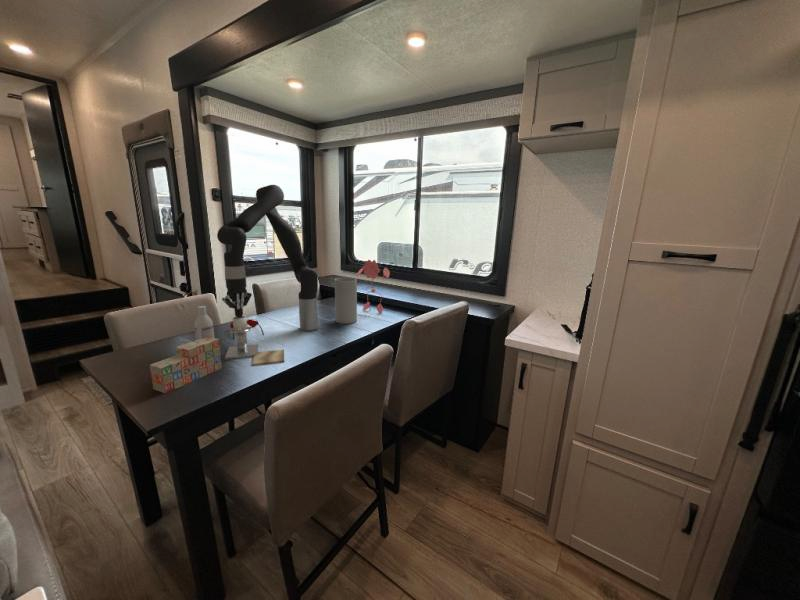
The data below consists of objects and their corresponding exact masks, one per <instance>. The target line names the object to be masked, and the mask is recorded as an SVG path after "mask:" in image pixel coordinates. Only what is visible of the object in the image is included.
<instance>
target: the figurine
mask: <svg viewBox="0 0 800 600" xmlns="http://www.w3.org/2000/svg"><path fill="white" fill-rule="evenodd" d="M362 272H363V274H364V275H366V278H367V279H371V280H370V284H371V290H370V291H368V292H367V293H366V295H367V300H369V293H372V294H374V293H376V294H378V295H379V296H380V299H382V296H383V295H382V294H381V293H379V292H377V291H376V289H375V288H374V286H373V280H375V278H379V279H383V280H384V279H385V277H386V278H387V279H389V278H390V275H391V272H390V269H388V268H386V267H384V269H383V277H380V276H379V273H380V272H381V269H380V268H379V264H378V263H377V261H376V260H375V259H373V260H370V259H368V260H365V261H364V265H363V266H362V268H360V269H359V270H358V272H357V274H355V277H358V276H359V275H360V274H362ZM379 301H380V302H379V304H377V307H376V310H377V312H378V314H379V315H381V313H383V310H384V307H383V305H382V304H381V302H382V300H379ZM370 305H371V302H369V301H367V302H366V303H365V304H364V305H363V307H362V311H363V312H365V311H367V309H368V308H369V311H371V310H372V309H371V306H370ZM359 316H361V314H360V313H359ZM364 317H366V318H367V317H368V318H369V316H366V315H364Z"/></svg>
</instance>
